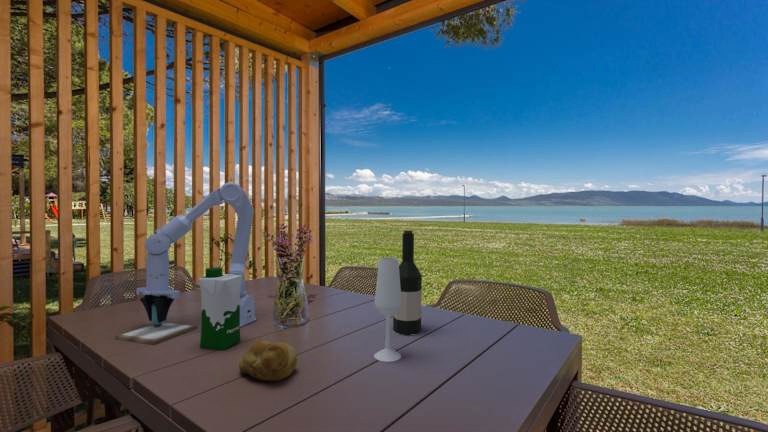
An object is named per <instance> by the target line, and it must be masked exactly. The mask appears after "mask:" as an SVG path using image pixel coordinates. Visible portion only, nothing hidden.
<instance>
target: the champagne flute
mask: <svg viewBox="0 0 768 432" xmlns="http://www.w3.org/2000/svg"><path fill="white" fill-rule="evenodd" d="M399 266H400V264H399V258H397V257H389V256H388V257H380V258H378V266H377V273H376V274H377V275H376V287H375V294H374V306H375V308H376V309H377V311H378V312H379V313H380V314H381V315H382V316H384V317H385V335H384V337H385V345H384V347H385V348H383V349H381V350H379V351H378V352H375V353H374V355H373V357H374V358H375V360H377V361H380V362H386V363H387V362H389V363H390V362H395V361H399V360H400V359H401V358H402V355H401V354H400V352H397V351H396V350H394V349H392V348H391V317H393V315H394V314H395V313H396V312H397V311H398V310H399V309H400V307H401V305H402V299H401V287H400V274H399Z"/></svg>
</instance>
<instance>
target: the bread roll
mask: <svg viewBox="0 0 768 432" xmlns="http://www.w3.org/2000/svg"><path fill="white" fill-rule="evenodd" d="M297 358H298V357H297V353H296V351H295V349H294V347H292V346H291V345H289V344H288V343H286V342H284V341H280V342H279V341H278V342H274V343H272V342H271V341H268V340H258V341H256V342H254V343H253V344H251V345H250V346H249V347H247V349H246V350H245V353H244V354H243V355H242V356H241V357H240V358H239V363H238V368H239V370H240V371H241V373H242V374H245V375H246V376H247V375H248V376H251V378H254V379H256V380H258V381H260V382H261V381H262V382H278V381H282V380H284V379H286V378H288V377H289V376H290V375H291V374H292V373H293V372H294V370H296V368H297V365H298V364H297V362H298V359H297Z"/></svg>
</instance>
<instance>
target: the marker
mask: <svg viewBox="0 0 768 432" xmlns="http://www.w3.org/2000/svg"><path fill="white" fill-rule="evenodd" d="M163 322H164V321H162V322H158V320H157V310H156V306H155V303H152V321H151V324H153V326H154V327H157V326H161V325H162V323H163Z"/></svg>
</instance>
